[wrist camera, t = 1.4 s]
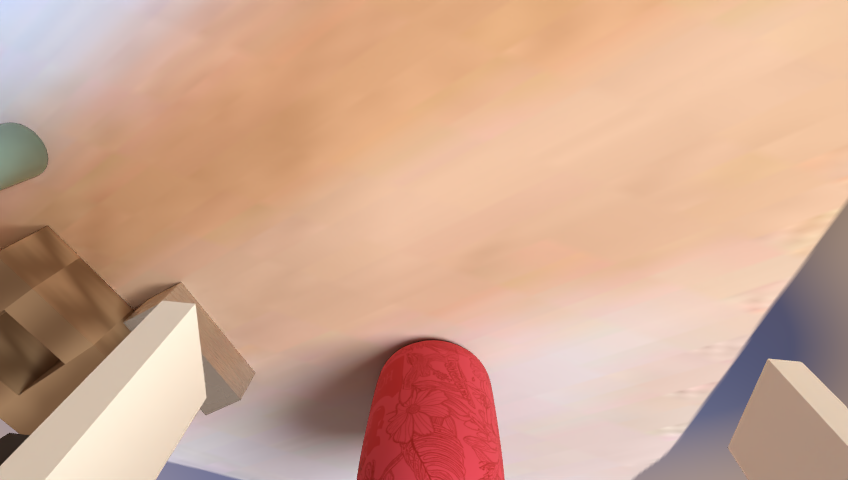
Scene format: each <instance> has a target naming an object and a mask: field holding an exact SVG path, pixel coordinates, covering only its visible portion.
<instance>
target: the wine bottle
mask: <svg viewBox="0 0 848 480" xmlns="http://www.w3.org/2000/svg"><path fill="white" fill-rule="evenodd" d="M357 480H504V469H503V460H502V452H501V444H500V437H499V430H498V424H497V417H496V411H495V405H494V398H493V393H492V388H491V383H490V379H489V376H488V373H487V371H486V370H485V368H484V366H483V365H482V363H481V362H480V360H479V359H478V358H477V357H476V356H475V355H473V354H472V353H471V352H470V351H468V350H466V349H465V348H463V347H461V346H459V345H456V344H453V343H450V342H446V341H439V340H428V341H420V342H416V343H413V344H410V345H407V346H405V347H403V348H401V349H400V350H398V351H397V352H396V353H394V354H393V355H392V356H391V357H390V358H389V359H388V361H387V362H386V363H385V365H384V366H383V368H382V370H381V373H380V375H379V378H378V381H377V385H376V389H375V392H374V396H373V401H372V405H371V409H370V414H369V418H368V422H367V427H366V432H365V436H364V441H363V446H362V451H361V457H360V462H359V468H358V474H357Z"/></svg>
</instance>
